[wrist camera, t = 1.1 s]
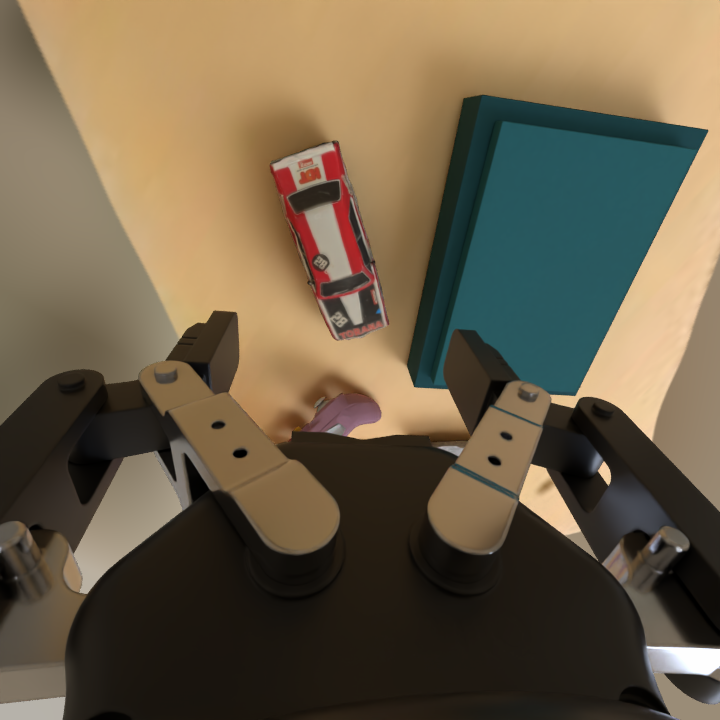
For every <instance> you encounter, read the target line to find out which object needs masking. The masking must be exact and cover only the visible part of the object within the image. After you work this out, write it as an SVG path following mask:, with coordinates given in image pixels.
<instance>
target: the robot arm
mask: <svg viewBox="0 0 720 720" xmlns="http://www.w3.org/2000/svg"><path fill="white" fill-rule="evenodd" d="M238 364H239V333H238V317H237V313H236V312H227V311H213V313H212V315H211V316H210V318H209V320H208V321H207V323H197V324H195V325H193V326H192V327H190V328H188V329H187V330H186V331H185V333H184V334H183V336H182V338H181V339H180V340H179V341H178V344H177V345H176V346H175V347H174V349H173V350H172V352H171V353H170V355H169V356H168V357H167V359H166V360H165V361H161V362H157V363H154V364H151V365H149V366H147V367H145V368H144V369H142V370H141V372H140V373H139V375H138V380H135V381H129V382H122V383H114V384H105V380H104V377H103V375H102V374H101V373H99V372H97V371H94V370H85V369H81V370H72V371H67V372H63V373H60V374H57V375H55V376H53V377H51V378H49V379H47V380H46V381H44V382H43V383H42V384H41V385H40V386H39V387H38V388H37V389H36V390H35V391H34V392H33V393H32V394H31V395H30V397H28V398H27V399H26V400H25V401H24V402H23V403H22V404H21V405H20V406H19V407H18V408H17V409H16V411H14V412H13V413H12V415H10V416H9V418H7V420H5V422H4V423H3V424H2V425H1V426H0V704H3V703H12V702H21V701H30V700H39V699H48V698H56V697H66V698H65V708H64V715H63V720H679V719H677V718H675V717H672V716H671V715H670V713H669V712H668V710H667V707H666V706H665V703H664V701H663V699H662V696H661V694H660V691H659V689H658V686H657V683H656V680H655V677H654V675H653V673H664V674H665V675H666V677H667V678H668V679H669V680H670V681H671V682H672V683H673V684H674V685H675V686H676V687H677V688H679V689H680V690H681V691H682V692H683V693H685V694H687V695H688V696H689V697H691V698H693V699H695V700H697V701H699V702H702V703H706V704H717V703H720V512H719V511H718V510H717V509H716V508H715V506H713V504H712V503H711V502H710V501H709V500H708V499H707V498H706V497H705V496H704V495H703V494H702V493H701V492H700V491H699V490H698V489H697V488H696V487H695V486H694V485H693V484H692V483H691V482H690V481H689V479H688V478H687V477H686V476H685V475H684V474H683V473H682V472H681V471H680V470H679V469H678V468H677V467H676V466H675V465H674V464H673V463H672V462H671V461H670V460H669V459H668V458H667V457H666V456H665V455H664V454H663V453H662V452H661V451H660V449H659V448H658V447H657V446H656V445H655V444H654V443H653V442H652V441H651V440H650V439H649V438H648V437H647V436H646V435H645V434H644V433H643V432H642V431H641V430H640V429H639V428H638V427H637V426H636V425H635V423H634V422H633V421H632V420H631V419H630V418H629V417H628V416H627V415H626V414H625V413H624V412H623V411H622V410H621V409H619V408H618V407H616V406H615V405H613V404H611V403H609V402H607V401H604V400H602V399H598V398H594V397H583V398H580V399H579V400H578V402H577V404H576V406H575V408H570V407H566V406H562V405H558V404H554V403H551V397H550V395H549V394H548V392H546V391H545V390H544V389H543V388H541V387H539V386H537V385H535V384H533V383H530V382H526V381H521V380H520V379H519V377H518V376H517V375H516V373H515V372H514V371H513V369H512V368H511V367H510V366H508V363H507V362H506V360H504V358H503V357H502V355H501V354H500V353H499V351H498V350H496V349H495V348H493V347H492V346H491V345H489V344H488V343H485V342H484V341H483V340H482V338H481V337H480V336H479V334H478V333H477V331H475V330H466V329H455V330H454V331H453V333H452V336H451V340H450V343H449V347H448V351H447V355H446V358H445V362H444V367H443V376H444V380H445V382H446V385H447V387H448V389H449V391H450V393H451V395H452V397H453V399H454V402H455V404H456V406H457V408H458V410H459V412H460V414H461V417H462V419H463V421H464V423H465V425H466V427H467V429H468V431H469V434H470V436H471V437H470V439H469V441H468V442H467V444H466V445H465V447H464V449H463V450H462V452H461V454H460V455H459V456H457V455H455V454H453V453H451V452H449V451H446V450H444V449H441V448H437V447H434V446H432V444H431V441H430V438H429V436H413V435H392V436H386V437H380V438H373V439H367V440H360V439H355V438H351V437H346V436H342V435H337V434H333V433H328V432H306V431H292V438H291V441H289V442H284V443H280V444H276V445H275V444H274V443H273V442H272V441H271V440H270V439H269V438H268V436H267V435H266V434H265V433H264V432H263V431H262V430H261V429H260V428H259V426H258V425H257V424H256V423H255V422H254V421H253V420H252V419H251V418H250V417H249V415H248V414H247V413H246V412H245V411H244V410H243V409H242V408H241V407H240V405H239V404H238V403H237V402H236V401H235V400H234V399H233V398H232V397H231V396H230V394H229V393H228V392H229V390H230V387H231V384H232V381H233V379H234V376H235V373H236V371H237V368H238ZM153 451H154V454H155V456H156V458H157V459H158V461H159V463H160V465H161V467H162V468H163V470H164V472H165V474H166V476H167V477H168V479H169V481H170V483H171V484H172V486H173V488H174V490H175V492H176V493H177V496H178V498H179V500H180V503H181V506H182V510H183V511H182V512H181V513H179V514H178V515H177V516H175V517H174V518H173V519H172V520H170V521H169V522H168V523H167V524H165V525H164V526H163V527H162V528H160V529H159V530H158V531H157V532H155V533H154V534H152V535H151V536H150V537H149V538H147V539H146V540H145V541H143V542H142V543H141V544H140V545H138V546H137V547H136V548H135V549H133V550H132V551H131V552H129V553H128V554H127V555H126V556H124V557H123V558H122V559H120V560H119V561H118V562H117V563H116V564H114V565H113V566H112V567H111V568H110V569H108V571H106V573H105V574H104V575H103V576H102V577H101V578H100V579H99V580H98V581H97V583H96V584H95V585H94V586H93V587H92V589H91V590H90V591H89V593H88V594H83V593H79V592H80V589H81V586H82V573H81V571H80V568H79V566H78V563H77V561H76V559H75V557H74V552H75V550H76V548H77V547H78V545H79V543H80V541H81V539H82V537H83V535H84V533H85V531H86V529H87V527H88V525H89V524H90V522H91V520H92V518H93V516H94V514H95V512H96V510H97V508H98V507H99V505H100V503H101V501H102V499H103V497H104V495H105V493H106V491H107V489H108V487H109V486H110V484H111V482H112V480H113V478H114V476H115V474H116V472H117V470H118V468H119V466H120V465H121V463H122V461H123V458H124V457H128V456H133V455H138V454H143V453H148V452H153ZM603 461H604V462H605V463H606V464H607V465H608V467H609V469H610V472H611V482H610V484H609V486H608V485H607V484H606V482H605V481H604V479H603V478H602V477H601V475H600V474H599V472H598V470H599V468H600V466H601V465H602V463H603ZM530 464H533V465H537V466H541V467H544V468H546V469H547V471H548V473H549V475H550V477H551V479H552V480H553V482H554V484H555V486H556V487H557V489H558V491H559V493H560V494H561V496H562V498H563V500H564V501H565V503H566V505H567V507H568V508H569V510H570V512H571V514H572V515H573V517H574V519H575V521H576V522H577V524H578V526H579V528H580V529H581V531H582V533H583V535H584V536H585V538H586V540H587V542H588V543H589V545H590V547H591V549H592V550H593V552H594V554H595V556H596V557H597V559H598V561H599V562H598V561H597V560H596V559H595V558H593V557H592V556H591V555H589V554H588V553H587V552H586V551H584V550H583V549H581V548H580V547H579V546H577V545H576V544H575V543H574V542H572V541H571V540H570V539H568V538H567V537H566V536H564V535H563V534H562V533H560V532H559V531H558V530H557V529H555V528H554V527H553V526H551V525H550V524H549V523H547V522H546V521H545V520H543V519H542V518H541V517H539V516H538V515H537V514H535V513H534V512H533V511H531V510H530V509H529V508H527V507H526V506H525V505H524V504H522V503H521V502H520V501H519V495H520V492H521V490H522V487H523V484H524V481H525V478H526V476H527V473H528V470H529V467H530Z"/></svg>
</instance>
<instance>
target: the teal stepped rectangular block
mask: <svg viewBox="0 0 720 720" xmlns="http://www.w3.org/2000/svg"><path fill="white" fill-rule="evenodd" d="M707 133H708V130H706V129H700V128H693V127H687V126H680V125H674V124H667V123H661V122H654V121H648V120H642V119H635V118H629V117H622V116H616V115H609V114H603V113H597V112H590V111H584V110H577V109H571V108H564V107H558V106H551V105H545V104H539V103H532V102H526V101H519V100H513V99H506V98H500V97H493V96H487V95H479V96H474V97H469V98H464V101H463V105H462V110H461V115H460V119H459V124H458V129H457V134H456V138H455V143H454V148H453V152H452V157H451V162H450V166H449V171H448V176H447V181H446V185H445V190H444V195H443V199H442V204H441V209H440V213H439V218H438V223H437V227H436V232H435V237H434V242H433V246H432V251H431V256H430V260H429V265H428V270H427V274H426V279H425V284H424V289H423V293H422V298H421V303H420V307H419V312H418V317H417V321H416V326H415V331H414V336H413V340H412V345H411V350H410V354H409V359H408V364H407V367H408V370H409V373H410V376H411V379H412V382H413V385H414V387H418V388H437V389H448V387H447V385H446V382H445V380H444V376H443V367H444V362H445V358H446V355H447V351H448V347H449V343H450V340H451V336H452V333H453V331H454V330H455V329H466V330H475V331H477V333H478V334H479V336H480V337H481V338H482V340H483V341H484V342H485V343H488V344H489V345H491V346H492V347H493V348H495V349H496V350H498V351H499V353H500V354H501V355H502V357H503V358H504V360H506V362H507V363H508V366H510V367H511V368H512V369H513V371H514V372H515V373H516V375H517V376H518V377H519V379H520V380H521V381H526V382H530V383H533V384H535V385H537V386H539V387H541V388H543V389H544V390H545V391H546V392H548V394H551V395H569V396H575V395H576V394H577V392H578V390H579V388H580V386H581V384H582V382H583V380H584V378H585V376H586V374H587V372H588V370H589V368H590V366H591V364H592V362H593V360H594V358H595V356H596V354H597V352H598V350H599V348H600V346H601V344H602V342H603V340H604V338H605V336H606V334H607V332H608V330H609V328H610V326H611V324H612V322H613V320H614V318H615V316H616V314H617V312H618V310H619V308H620V306H621V304H622V302H623V300H624V298H625V296H626V294H627V292H628V290H629V288H630V286H631V284H632V282H633V280H634V278H635V276H636V274H637V272H638V270H639V268H640V266H641V264H642V262H643V260H644V258H645V256H646V254H647V252H648V250H649V248H650V246H651V244H652V242H653V240H654V238H655V236H656V234H657V232H658V230H659V228H660V226H661V224H662V222H663V220H664V218H665V216H666V214H667V212H668V210H669V208H670V206H671V204H672V202H673V200H674V198H675V196H676V194H677V192H678V190H679V188H680V186H681V184H682V182H683V180H684V178H685V176H686V174H687V172H688V170H689V168H690V166H691V164H692V162H693V160H694V158H695V156H696V154H697V152H698V150H699V148H700V146H701V144H702V142H703V140H704V138H705V137H706V135H707Z"/></svg>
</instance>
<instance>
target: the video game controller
mask: <svg viewBox="0 0 720 720" xmlns="http://www.w3.org/2000/svg"><path fill="white" fill-rule="evenodd" d="M325 398H326V397H323V398H320V399H319V400H318V401H317V402H316V403H315V405H314V408H316V407H317V406H319V407H318V409H317V413H316V414H315V417H314V419H313V420H312V421H311V422H310V423H308V424H306V425H305V426H304V427H303V428H302V429H301V428H300V427H297V428H295V429H294V431H306V432H328V433H333V434H337V435H342V436H347V435H348V434H349V433H350V432H351V431H352V430H353V429H354V428H355V427H357V426H359V425H362V424H369V423H375V422H377V421H379V420H380V418H381V410H380V407H379V406H378V404H377V403H376V402H375V401H374V400H372V399H371V398H369V397H367V396H365V395H361V394H355V393H353V394H342V393H341V394H340V395H339V396H337V397H336V398H333V399H331V400H327V401H323V400H324V399H325ZM289 441H291V439H290V440H289ZM289 441H288V442H289Z"/></svg>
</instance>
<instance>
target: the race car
mask: <svg viewBox="0 0 720 720" xmlns="http://www.w3.org/2000/svg"><path fill="white" fill-rule="evenodd" d="M270 170H271V174H272V176H273V178H274V181H275V185H276V188H277V192H278V195H279V199H280V202H281V205H282V209H283V214H284V217H285V220H286V222H287V224H288V226H289V230H290V233H291V236H292V238H293V241H294V243H295V246H296V248H297V251H298V254H299V257H300V259H301V262H302V264H303V267H304V269H305V271H306V273H307V278H308V284H309V285H310V286H311V289H312V292H313V294H314V297H315V299H316V301H317V304H318V306H319V309H320V312H321V314H322V316H323V318H324V320H325V323H326V325H327V327H328V329H329V331H330V333H331V335H332V337H333V338H334V339H335V340H344V339H345V340H350V339H353V338H362V337H364V336H365V335H367V334H369V333H371V332H373V331H376V330H379V329H381V328H384V327H386V326H388V325H389V320H388V316H387V312H386V307H385V302H384V297H383V293H382V288H381V284H380V281H379V277H378V274H377V270H376V266H375V260H374V259H373V256H372V252H371V249H370V245H369V241H368V237H367V234H366V231H365V228H364V225H363V222H362V218H361V215H360V211H359V207H358V203H357V198H356V195H355V192H354V190H353V187H352V184H351V182H350V180H349V178H348V175H347V171H346V167H345V164H344V162H343V159H342V155H341V151H340V146H339V142H338V141H332V142H329V143H322V144H320V145H318V146H314V147H311V148H308V149H305V150H303V151H300V152H298V153H295V154H292V155H289V156H286V157H284V158H281V159H278V160H274V161H271V163H270Z"/></svg>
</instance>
